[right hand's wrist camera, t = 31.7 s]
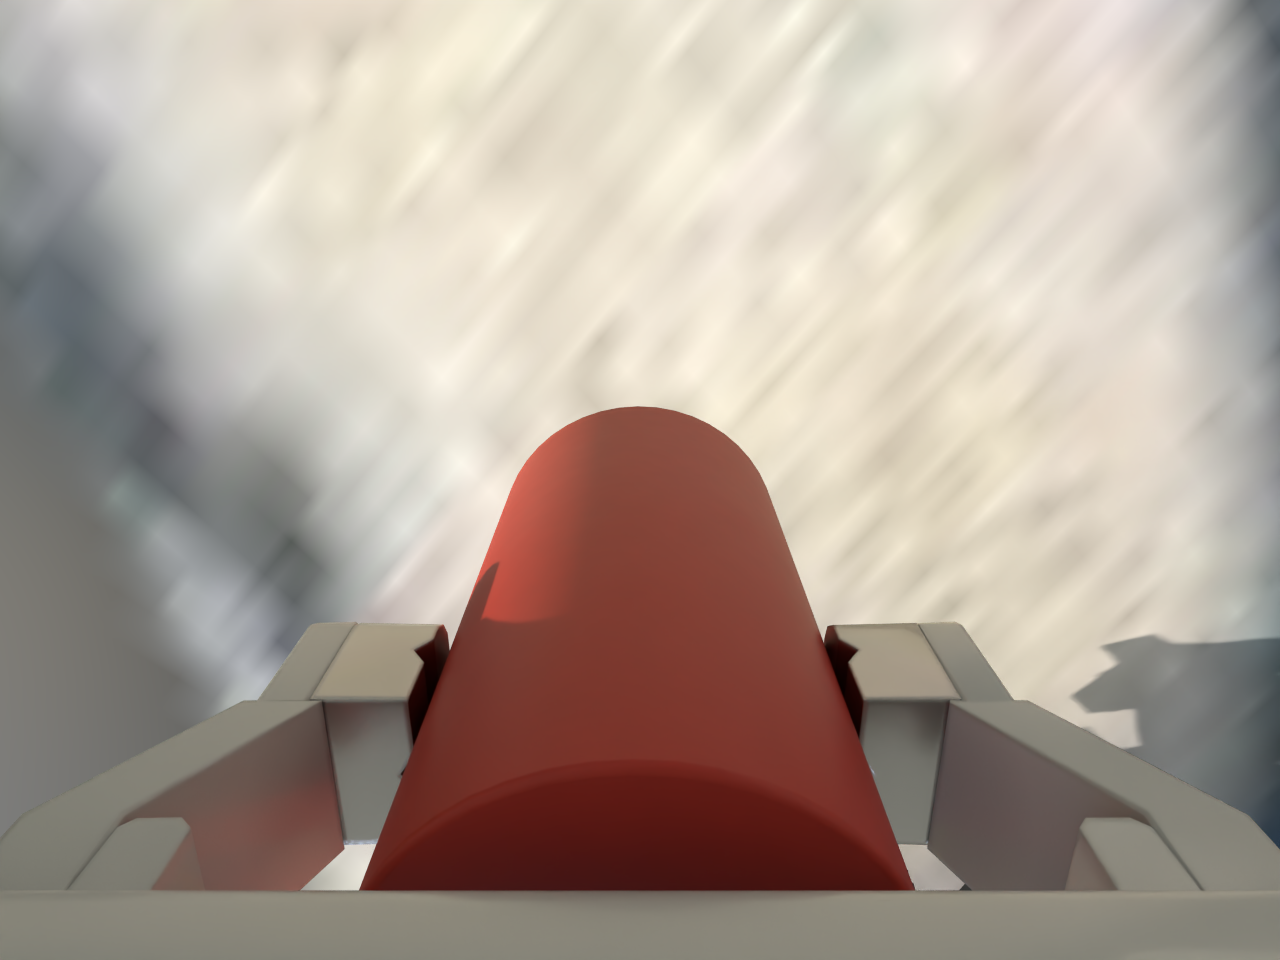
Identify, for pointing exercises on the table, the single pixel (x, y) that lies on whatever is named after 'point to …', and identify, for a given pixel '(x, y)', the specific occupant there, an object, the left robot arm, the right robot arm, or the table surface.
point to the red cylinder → (637, 692)
